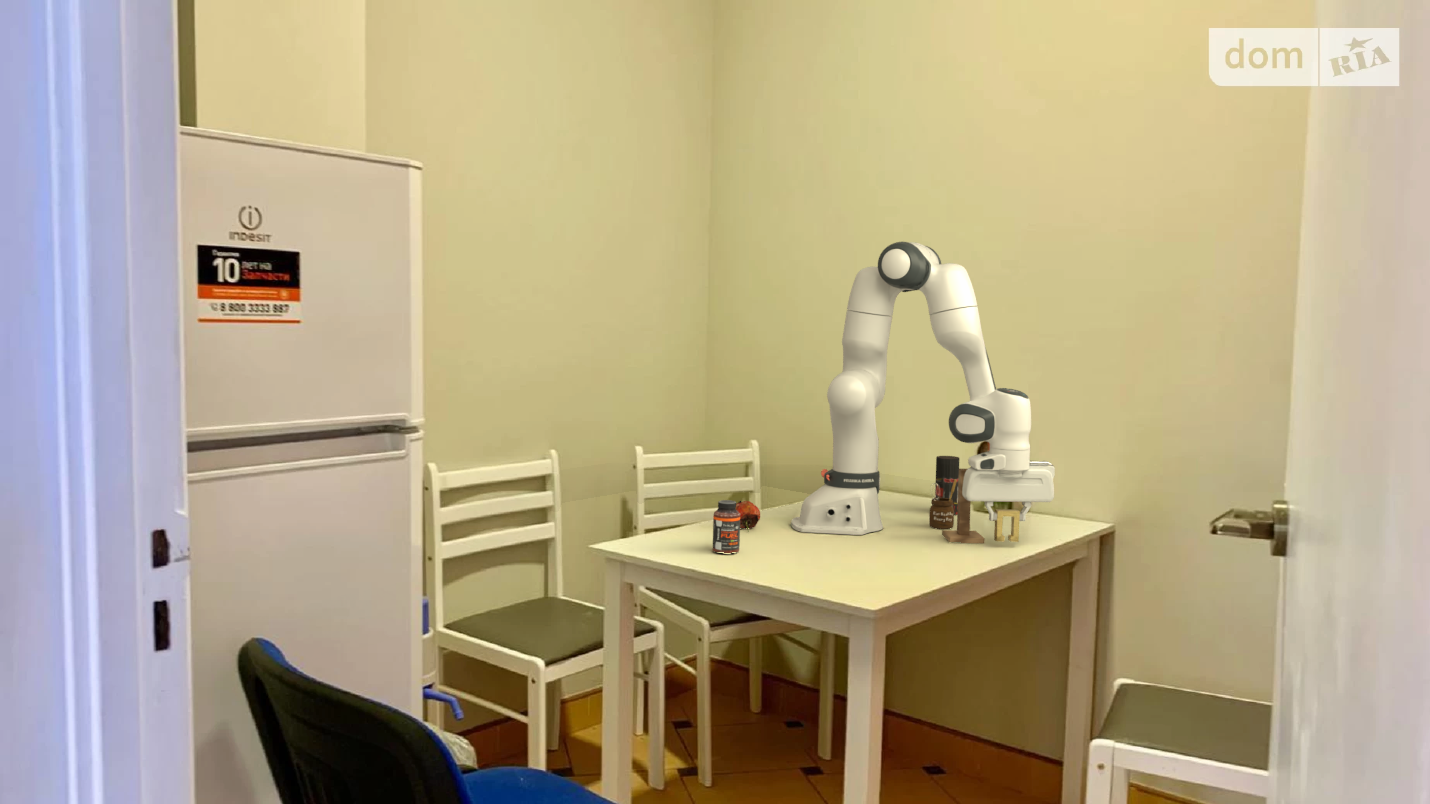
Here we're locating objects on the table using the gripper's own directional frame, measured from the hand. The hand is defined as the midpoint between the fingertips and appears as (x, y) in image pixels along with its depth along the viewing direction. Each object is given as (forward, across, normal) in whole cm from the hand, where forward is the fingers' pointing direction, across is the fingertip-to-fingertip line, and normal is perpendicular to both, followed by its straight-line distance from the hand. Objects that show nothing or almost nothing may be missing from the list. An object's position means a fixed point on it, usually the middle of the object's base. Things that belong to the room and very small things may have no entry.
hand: (1006, 520), depth 233 cm
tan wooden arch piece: (+5, 0, 0) cm, 5 cm away
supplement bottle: (+6, +64, +8) cm, 65 cm away
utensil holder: (+6, +10, -20) cm, 24 cm away
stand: (+6, +5, -7) cm, 11 cm away
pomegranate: (+6, +59, -16) cm, 61 cm away
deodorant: (+6, +5, -38) cm, 38 cm away
